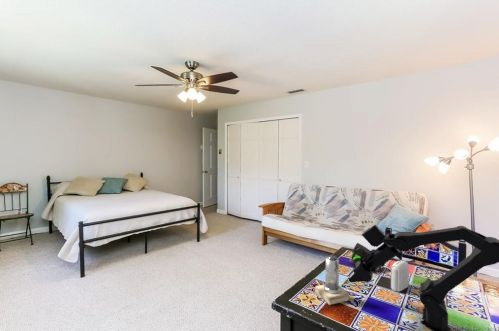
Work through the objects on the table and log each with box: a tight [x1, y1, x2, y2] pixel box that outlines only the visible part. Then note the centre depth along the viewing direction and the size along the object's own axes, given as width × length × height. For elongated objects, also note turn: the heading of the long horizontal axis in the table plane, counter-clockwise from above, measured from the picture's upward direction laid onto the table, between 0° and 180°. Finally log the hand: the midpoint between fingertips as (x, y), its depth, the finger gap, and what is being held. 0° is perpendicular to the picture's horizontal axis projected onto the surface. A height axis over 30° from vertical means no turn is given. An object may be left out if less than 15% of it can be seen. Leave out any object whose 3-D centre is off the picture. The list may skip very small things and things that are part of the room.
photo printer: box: [390, 259, 410, 292], centre depth 116 cm, size 10×4×12 cm, turn 123°
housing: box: [323, 254, 342, 294], centre depth 109 cm, size 7×7×14 cm
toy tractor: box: [349, 252, 382, 273], centre depth 137 cm, size 11×16×10 cm
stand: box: [314, 283, 350, 306], centre depth 109 cm, size 10×10×3 cm
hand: (351, 276), depth 104 cm, fingers open, 9 cm apart
